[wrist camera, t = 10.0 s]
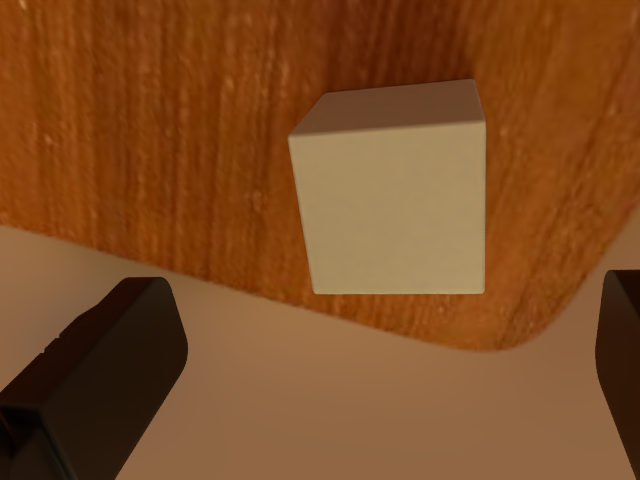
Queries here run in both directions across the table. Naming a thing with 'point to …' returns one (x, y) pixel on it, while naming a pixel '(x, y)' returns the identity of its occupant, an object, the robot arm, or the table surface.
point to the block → (393, 189)
